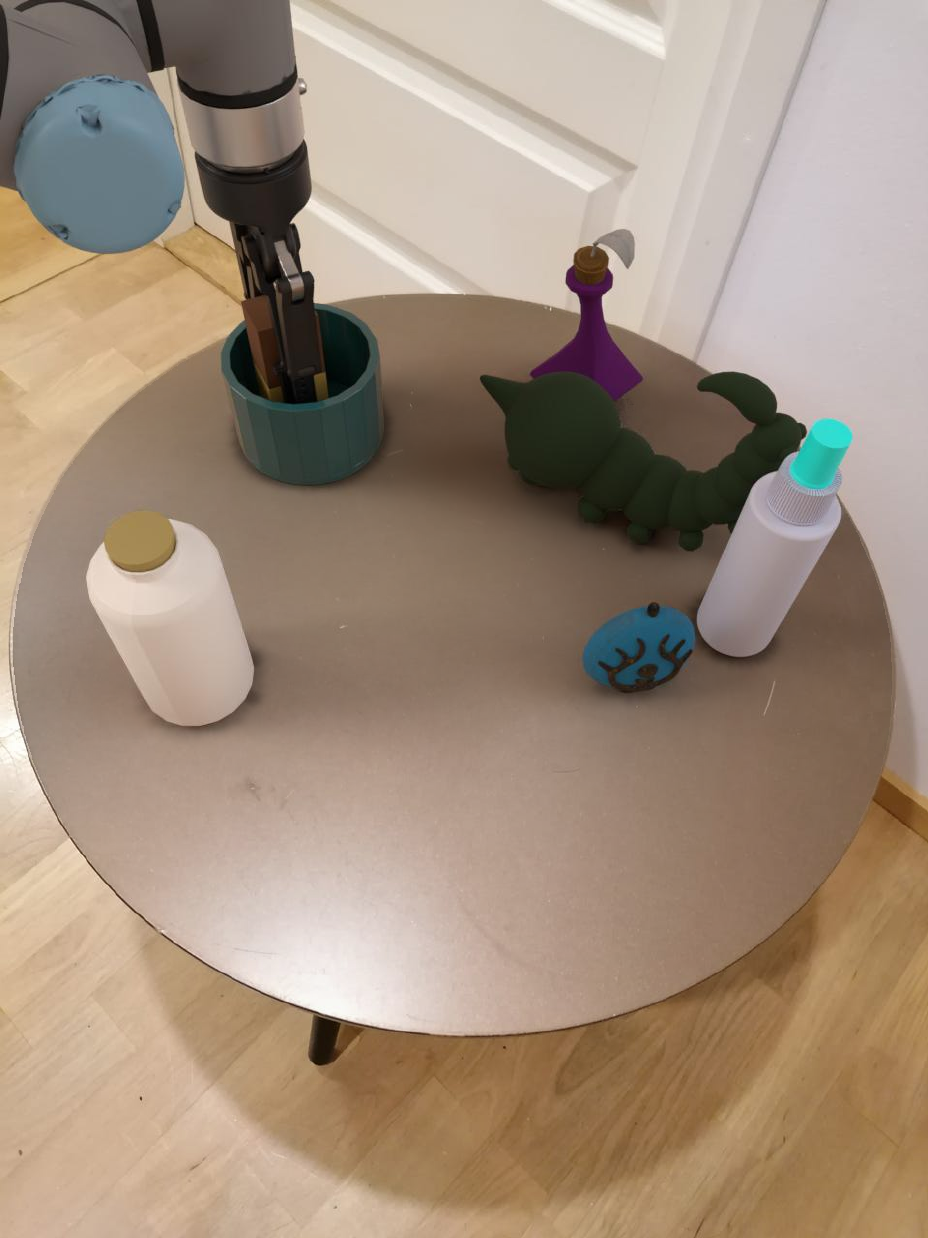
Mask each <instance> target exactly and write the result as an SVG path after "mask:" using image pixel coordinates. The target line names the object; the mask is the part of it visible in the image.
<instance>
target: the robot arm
mask: <svg viewBox="0 0 928 1238" xmlns="http://www.w3.org/2000/svg"><path fill="white" fill-rule="evenodd" d="M291 11H292V10H291V0H0V187H1V188H5V189H8V190H11V191H15V192H17V193H18V195H19V196H20V198H21V200H22V201H23V202H26V204H27V207H28V209H29V210H30V212H31V213H32V215H33V217H34V218H35V219H36V221H38V223H39V224H41V226H42V227H43V228H45V229H46V230H47V231H48V233H50V234H51V235H52V236H54V237H55V238H56V239H59V240H60V241H61V242H62V243H63V244H66V245H67V246H69V247H71V248H75V249H77V250H80V251H83V252H86V253H90V254H100V255H115V254H116V255H117V254H123V253H129V252H132V251H135V250H138V249H141V248H143V247H145V246H147V245H148V244H150V243H152V242H153V241H155V240H156V239H157V238H159V237H160V236H161V235H162V234H163V233H165V231H166V230H167V229H168V228H169V227H170V226H171V224H172V223H173V221H174V220H175V219H176V216H177V214H178V212H179V210H180V209H181V208H182V202H183V201H182V200H183V198H184V191H185V180H186V177H185V176H186V175H185V169H184V163H183V159H182V156H181V153H180V150H179V145H178V143H177V140H176V137H175V127H174V124H173V121H172V118H171V116H170V114H169V112H168V110H167V108H166V106H165V105H164V103H163V102H162V100H161V99H160V97H159V95H158V93H157V91H156V88H155V86H154V84H153V82H152V80H151V78H150V76H149V74H150V73H151V74H152V73H155V72H156V73H157V72H160V71H164V70H165V69H168V68H169V69H170V68H175V74H176V82H177V83H176V84H177V89H178V93H179V94H178V95H179V99H180V102H181V106H182V107H181V108H182V111H183V114H184V119H185V123H186V128H187V132H188V137H189V141H190V145H191V148H193V150H194V160H195V164H196V170H197V175H198V178H199V182H200V187H201V192H202V196H203V199H204V202H205V204H206V206H207V207H208V208H209V209H210V210H211V212H213V213H214V215H216V216H218V217H219V218H221V219H223V220H225V221H227V222H228V223H229V227H230V232H231V237H232V241H233V246H234V251H235V256H236V260H237V265H238V269H239V274H240V275H239V276H240V280H241V283H242V288H243V298H244V300H247V299H251V298H254V297H258V296H261V295H265V297H266V301H267V306H268V310H269V314H270V319H271V323H272V327H273V331H274V336H275V340H276V344H277V349H278V353H279V357H280V361H279V362H277V363H275V364H272V368H273V370H274V373H275V375H279V378H280V383H281V389H282V394H283V400H284V403H286V404H303V403H313V402H318V401H317V394H316V387H315V380H314V374H317V373H320V372H322V368H321V367H322V364H321V359H320V350H319V342H318V333H317V325H316V316H315V308H314V303H315V300H314V298H315V277H314V275H313V273H312V272H311V271H310V270H305V271H303V266H302V261H301V255H300V250H301V247H302V243H301V239H300V234H299V230H298V226H297V225H296V223H295V222H292V221H293V219H294V218H295V217H296V216H297V215H298V214H299V213H300V212H301V211H302V210H303V209H304V208H305V207H306V205H308V203H309V201H310V198H311V196H312V192H313V186H312V185H313V184H312V177H311V176H312V175H311V169H310V159H309V151H308V144H307V143H306V140H305V133H306V131H305V125H304V124H305V123H304V116H303V108H302V104H301V103H302V102H301V96H304V95H305V94H306V93H307V92H308V84H307V83H306V81H305V80H304V78H303V77H299V75H298V74H299V73H298V72H299V71H298V66H297V57H296V52H295V50H296V49H295V41H294V40H295V39H294V31H293V30H294V29H293V21H292V20H293V19H292V12H291Z"/></svg>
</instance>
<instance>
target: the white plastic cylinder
mask: <svg viewBox="0 0 928 1238" xmlns="http://www.w3.org/2000/svg"><path fill="white" fill-rule="evenodd" d="M85 581H86V586H87V592H88V598H89V602H90V603H91V605H92V607H93V609H94V610H95V612H96V614H97V616H98V617H99V620H100V621H101V623H102V625H103V627H104V629H105V630H106V632H107V634H108V636H109V637H110V639H111V641H112V643H113V644H114V647H115V649H116V650H117V652H118V654H119V656H120V657H121V659H122V661H123V663H124V664H125V666H126V668H127V671H128V673H129V674H130V675H131V677H132V679H133V681H134V683H135V685H136V687H137V688H138V690H139V692H140V694H141V696H142V697H143V699H144V701H145V702H146V704H147V705H148V707H149V708H150V710H151V711H152V712H153V713H154V714H156V715H157V716H158V717H160V718H161V719H163V720H164V721H165V722H168V723H171V724H174V725H177V726H181V727H202V726H205V725H210V724H213V723H216V722H219V721H221V720H222V719H224V718H225V717H227V716H229V715H231V714H232V713H235V711H236V710H237V709H238V708H239V706H240V705H241V704H243V702H244V701H245V700H247V697H248V695H249V692H250V690H251V688H252V686H253V683H254V673H255V665H254V661H253V657H252V654H251V651H250V648H249V645H248V642H247V641H248V640H247V638H246V635H245V632H244V628H243V625H242V622H241V618H240V616H239V613H238V610H237V609H238V608H237V606H236V602H235V600H234V596H233V593H232V590H231V587H230V583H229V581H228V578H227V575H226V571H225V568H224V565H223V562H222V558H221V556H220V553H219V550H218V549H217V547H216V546H215V544H214V543H213V542H212V541H211V539H210V538H209V537H208V535H207V534H206V533H205V532H203V531H202V530H201V529H199V528H198V527H196V526H194V525H192V524H190V523H188V522H183V521H180V520H177V519H172V518H168V517H166V516H165V515H163V514H161V513H159V512H156V511H152V510H136V511H131V512H128V513H126V514H124V515H122V516H119V517H118V518H117V519H116V520H115V521H113V522H112V523H111V524H110V526H109V527H108V528H107V530H106V532H105V534H104V539H103V541H102V543H101V544H100V545H99V546H98V548H97V549H96V551H95V553H94V554H93V556H92V557H91V559H90V560H89V564H88V567H87V573H86V576H85Z"/></svg>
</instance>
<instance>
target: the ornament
mask: <svg viewBox="0 0 928 1238" xmlns="http://www.w3.org/2000/svg"><path fill="white" fill-rule="evenodd" d="M695 644H696V631H695V626H694V624H693V622H692V621H691V619H690V618H689V616H687V615H686V614H685V613H684V612H682V611H681V610H679V609H676V608H675V607H672V606H666V605H660V603H658V602H655V601H652V602H651V603H649V604H648V605H645V606H640V607H635V608H633V609H629V610H627V611H626V610H625V611H624V612H621V613H620V614H618V615H615V616H614V617H613V618H611V619H609V620H607V621H606V622H605V623H604V624H602V625H601V626H600V627H599V628H598V629H596V631H595V632H594V633H593V634H592V635H591V636H590V637H589V639H588V641H587V643H586V645H585V646H584V649H583V653H582V666H583V669H584V672H585V673H586V674H587V675H588V676H589V677H590V678H592V679H593V680H594V681H596V682H597V683H598V684H600V685H604V686H607V687H609V688H613V689H616V690H619V692H621V693H623V694H629V693H630V694H631V693H639V692H645V691H650V690H653V689H654V688H656V687H659V686H661V685H664V684H666V683H668V682H670V681H671V680H673V679H674V678H676V676H677V675H678V674H679V673H680V671H681V669H682V668H683V667H684V666H685V664H687V662H688V661H689V659H690V657H691V656H692V655H693V653H694V649H695Z"/></svg>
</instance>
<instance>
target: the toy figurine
mask: <svg viewBox="0 0 928 1238" xmlns="http://www.w3.org/2000/svg"><path fill="white" fill-rule="evenodd" d="M479 381H480V384H482V386H483V387H484V389H485V390H486V391H487V392H488V394H489V396H491V398H492V399H493V401H494V402H495V403H496V404H497V406H498V407H499V408H500V410H501V411H502V413H503V414H504V427H503V429H504V441H505V446H506V451H507V465H508V467H509V468H510V469H511V470H512V471H517V472H518V473H519V476H520V477H521V479H522V481H523V482H525V483H526V484H527V485H530V486H531V485H532V486H538V485H539V486H543V487H546V488H549V489H557V490H558V489H559V490H567V489H574V488H577V489H578V491H579V493H580V494H581V495H582V496H581V497H580V499H579V501H578V504H577V511H578V516H579V517H580V518H581V519H582V520H583V521H584V523H585V522H586V523H590V524H596V523H598V522H601V521H603V520H605V519H606V517H607V515H608V514H609V511H622V513H623V514H624V515H625V517H626V519H628V520H629V521H630V522H631V523H630V524H629V526H628V527H627V528H626V531H627V535H628V538H629V540H631V542H633V543H635V544H645V543H646V542H648V541H649V540H650V539H651V538H652V537H653V536H652V535H653V533H654V530H663V529H665V528H668V527H669V528H671V529H672V530H675V531H678V532H679V533H678V546H679V547H680V548H681V549H683V550H684V551H686V552H692V553H693V552H695V551H696V550H698V549H700V548H702V546H703V542H704V532H703V531H705V530H707V529H709V528H710V527H711V526H712V525H716V526H722V525H723V526H724V525H727V529H728V531H729V534H730V535H732V532H733V530H734V528H735V525H736V523H737V521H738V519H739V516H740V514H741V512H742V510H743V507H744V505H745V503H746V500H747V498H748V496H749V494H750V491H751V489H752V487H753V486H754V484H755V483H756V482H757V481H758V480H759V479H760V478H762V477H763V476H765V475H767V474H769V473H772V472H776V471H778V470H779V468H780V466H781V464H782V463H783V461H784V459H785V458H786V457H787V456H788V455H790V454H792V453H794V452H797V451H798V450H799V448H800V446H801V443H802V440H805V439H806V437H807V435H808V430H807V427H806V425H805V424H803V423H802V422H798V421H797V420H796V419H795V418H794V417H793V416H791V415H789V414H787V413H783V412H777V411H778V400H777V397H776V396H777V395H776V394H775V392H773V390H772V389H771V388H770V387H769V386H768V385H767V384H766V383H765V382H763V381H762V380H760V379H759V378H757V377H755V376H752V375H750V374H748V373H744V372H738V371H721V372H715V373H713V374H710V375H708V376H706V377H703V378H702V379H700V380H699V381H698V382H697V385H696V389H697V391H699V392H701V393H702V392H703V393H704V392H705V393H713V394H715V395H718V396H720V397H722V398H724V399H725V400H726V401H728V402H730V404H732V406H734V407H735V408H736V409H737V410H738V412H739V413H740V414H741V415H742V416H743V417H744V418H745V419H746V420H747V421H749V422H750V423H753V424H754V426H753V427H752V430H751V432H749V433H747V434H745V435H744V436H743V437H742V438H741V439H740V440H739V441H738V442H737V444H736V446H735V448H734V451H733V452H731V453H729V454H727V455H726V456H724V457H723V458H722V459H721V460H720V462H719V463H718V465H717V466H714V467H711V468H709V469H707V470H706V471H704V472H702V471H701V470H695V469H693V470H690V469H687V467H686V466H684V465H683V464H682V463H681V462H680V461H678V460H677V459H675V458H673V457H671V456H668V455H664V454H656V453H655V451H654V449H653V447H652V446H651V444H650V443H649V442H648V441H647V439H645V437H644V436H642V435H641V434H639V433H638V432H637V431H634V430H632V429H630V428H626V427H622V425H621V418H620V414H619V411H618V408H617V405H616V403H615V402H613V400H612V398H611V397H610V395H609V394H608V393H607V392H606V391H605V390H604V389H603V388H602V387H601V386H600V385H599V384H598V383H596V382H595V381H593V380H592V379H590V378H589V377H587V376H584V375H582V374H578V373H573V372H553V373H548V374H544V375H542V376H539V377H537V378H535V379H533V378H532V379H531V380H529V381H527V382H522V381H516V380H512V379H509V378H508V379H507V378H502V377H499V376H494V375H489V374H482V375H480V376H479ZM798 452H799V451H798Z"/></svg>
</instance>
